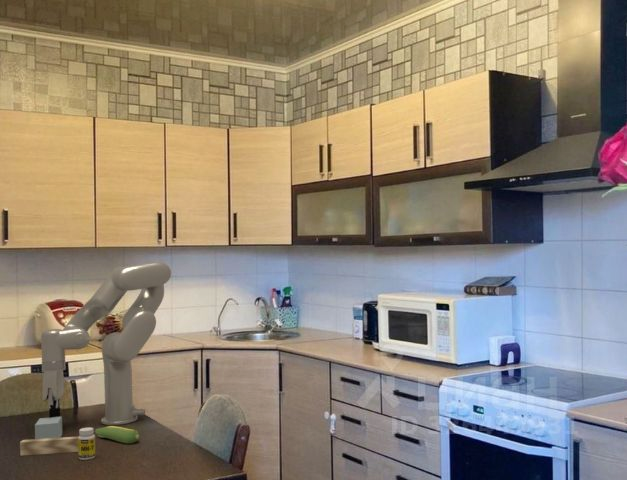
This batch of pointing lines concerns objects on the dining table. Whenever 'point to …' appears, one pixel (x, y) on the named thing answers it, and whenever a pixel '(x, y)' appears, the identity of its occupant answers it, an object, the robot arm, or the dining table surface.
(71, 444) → the board
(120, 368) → the robot arm
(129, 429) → the edible corn
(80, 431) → the supplement bottle
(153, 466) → the dining table surface
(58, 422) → the block
